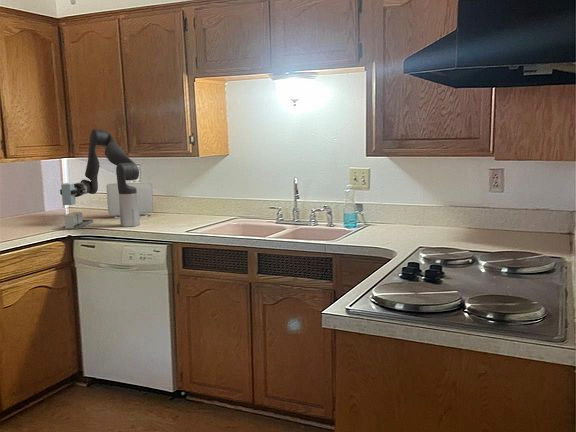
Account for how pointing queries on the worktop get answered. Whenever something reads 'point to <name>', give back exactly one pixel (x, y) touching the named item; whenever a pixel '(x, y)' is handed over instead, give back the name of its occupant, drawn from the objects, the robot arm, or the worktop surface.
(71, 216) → the rail
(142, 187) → the network device
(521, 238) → the worktop surface
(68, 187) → the block
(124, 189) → the robot arm
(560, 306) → the worktop surface
